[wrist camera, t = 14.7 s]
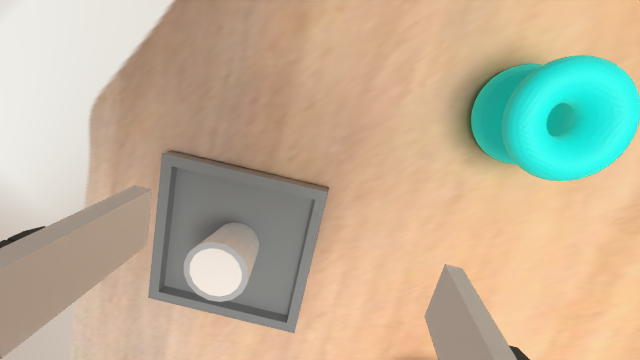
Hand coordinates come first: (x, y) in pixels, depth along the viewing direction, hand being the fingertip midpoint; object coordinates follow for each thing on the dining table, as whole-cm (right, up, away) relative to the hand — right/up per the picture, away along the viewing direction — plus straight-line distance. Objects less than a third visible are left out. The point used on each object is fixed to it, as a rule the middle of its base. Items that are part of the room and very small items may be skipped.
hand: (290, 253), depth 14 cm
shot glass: (-9, -5, +26) cm, 28 cm away
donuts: (+22, +10, +21) cm, 32 cm away
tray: (-9, -4, +27) cm, 28 cm away
